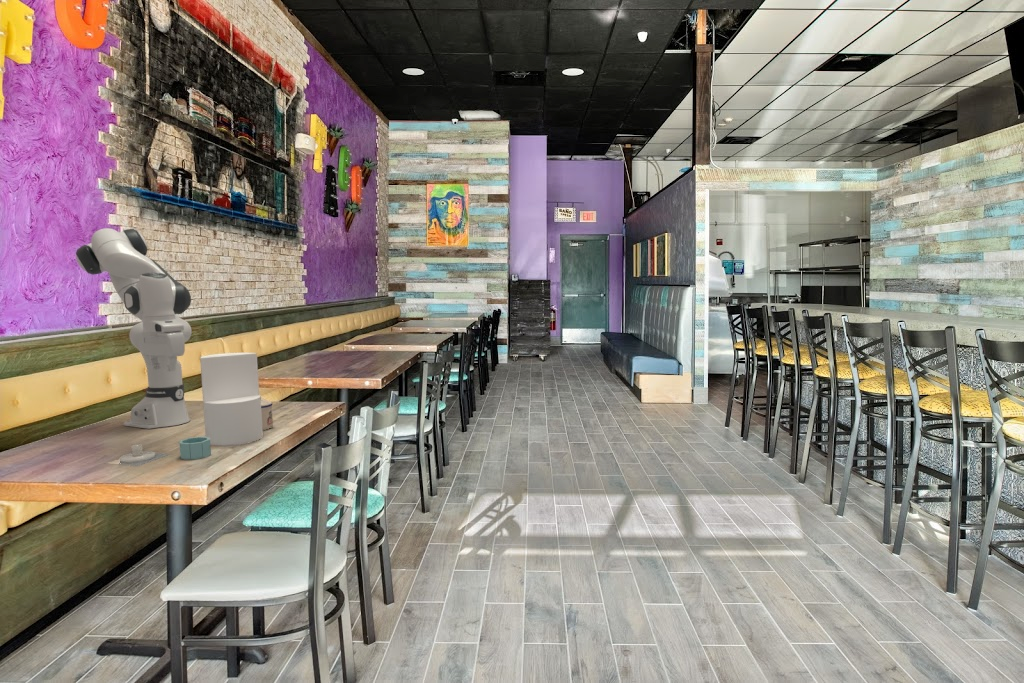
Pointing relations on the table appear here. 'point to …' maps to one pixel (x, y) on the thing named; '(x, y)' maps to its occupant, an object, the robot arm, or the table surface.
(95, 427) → the table surface
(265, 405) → the teacup with lid
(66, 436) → the table surface
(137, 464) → the mat
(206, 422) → the cylinder
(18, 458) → the table surface
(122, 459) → the lid
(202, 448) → the cup
